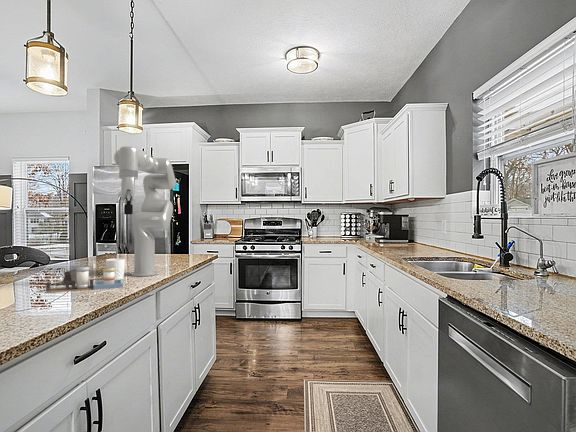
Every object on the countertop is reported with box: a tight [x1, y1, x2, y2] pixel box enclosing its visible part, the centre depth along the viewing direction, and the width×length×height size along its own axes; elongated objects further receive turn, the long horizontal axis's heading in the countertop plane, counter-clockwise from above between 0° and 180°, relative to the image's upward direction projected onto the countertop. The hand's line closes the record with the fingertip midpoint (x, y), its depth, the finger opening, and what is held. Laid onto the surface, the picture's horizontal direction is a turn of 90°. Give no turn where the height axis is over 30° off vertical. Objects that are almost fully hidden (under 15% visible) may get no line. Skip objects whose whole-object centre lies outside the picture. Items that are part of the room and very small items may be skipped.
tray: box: [92, 278, 124, 291], centre depth 136 cm, size 10×10×3 cm
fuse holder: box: [44, 278, 94, 294], centre depth 131 cm, size 10×15×4 cm, turn 116°
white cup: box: [105, 257, 126, 280], centre depth 154 cm, size 8×8×10 cm
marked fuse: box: [102, 267, 115, 285], centre depth 137 cm, size 4×4×8 cm
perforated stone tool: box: [62, 269, 77, 286], centre depth 145 cm, size 15×5×7 cm, turn 5°
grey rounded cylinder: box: [75, 266, 90, 289], centre depth 133 cm, size 4×4×8 cm
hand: (128, 214), depth 151 cm, fingers open, 9 cm apart
